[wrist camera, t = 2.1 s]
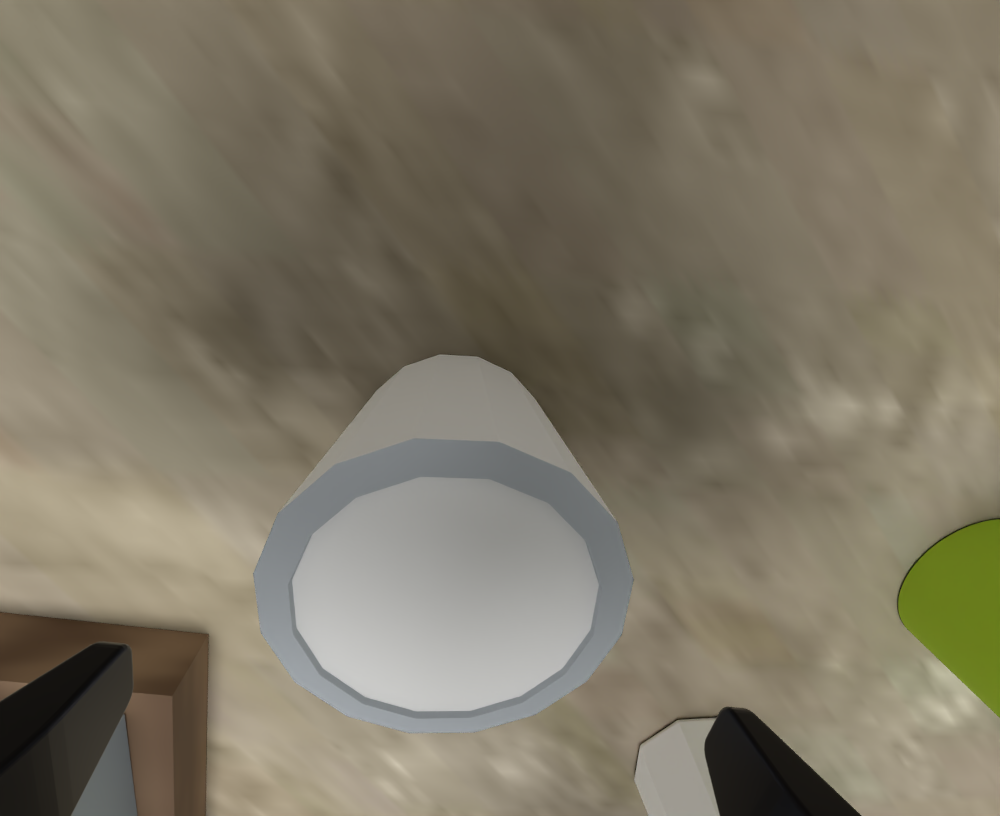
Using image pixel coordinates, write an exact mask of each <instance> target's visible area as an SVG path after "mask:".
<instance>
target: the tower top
mask: <svg viewBox="0 0 1000 816" xmlns="http://www.w3.org/2000/svg"><path fill="white" fill-rule="evenodd" d="M71 816H137V808H136V800H135V793H134V785H133V777H132V769H131V761H130V753H129V746H128V738H127V730H126V722H125V715H123V716H122V718H121V720H120V722H119V724H118V725H117V727H116V729H115V731H114V733H113V735H112V737H111V739H110V741H109V743H108V745H107V747H106V749H105V751H104V753H103V755H102V757H101V759H100V761H99V763H98V764H97V766H96V768H95V770H94V772H93V774H92V776H91V778H90V780H89V782H88V784H87V786H86V788H85V790H84V792H83V794H82V796H81V798H80V800H79V801H78V803H77V805H76V807H75V809H74V811H73V813H72V815H71Z"/></svg>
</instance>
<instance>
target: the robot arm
mask: <svg viewBox="0 0 1000 816" xmlns="http://www.w3.org/2000/svg"><path fill="white" fill-rule="evenodd" d="M133 686H134V682H133V661H132V649H131V647H130V646H129V645H128V644H124V643H114V642H105V641H101V642H96V643H93V644H91V645H89V646H88V647H86V648H84V649H83V650H81V651H80V652H78V653H76V654H75V655H73V656H71V657H70V658H68V659H67V660H65V661H63V662H62V663H60V664H59V665H57V666H55V667H54V668H52V669H51V670H49V671H47V672H46V673H44V674H43V675H41V676H39V677H38V678H36V679H35V680H33V681H31V682H30V683H28V684H27V685H25V686H23V687H22V688H20V689H19V690H17V691H15V692H14V693H12V694H11V695H9V696H7V697H6V698H4V699H2V700H1V701H0V816H71V815H72V813H73V811H74V809H75V807H76V805H77V803H78V801H79V800H80V798H81V796H82V794H83V792H84V790H85V788H86V786H87V784H88V782H89V780H90V778H91V776H92V774H93V772H94V770H95V768H96V766H97V764H98V763H99V761H100V759H101V757H102V755H103V753H104V751H105V749H106V747H107V745H108V743H109V741H110V739H111V737H112V735H113V733H114V731H115V729H116V727H117V725H118V724H119V722H120V720H121V718H122V716H123V714H124V712H125V710H126V708H127V706H128V704H129V701H130V699H131V696H132V692H133ZM704 752H705V759H706V763H707V767H708V771H709V775H710V779H711V783H712V787H713V791H714V795H715V799H716V803H717V807H718V811H719V815H720V816H861V815H860V814H859V813H858V812H857V811H856V810H855V809H854V808H853V807H852V806H851V805H850V804H849V803H848V802H847V801H846V800H844V799H843V798H842V797H841V796H840V795H839V794H838V793H837V792H836V791H835V790H834V789H833V788H832V787H831V786H830V785H829V784H828V783H827V782H826V781H824V780H823V779H822V778H821V777H820V776H819V775H818V774H817V773H816V772H815V771H814V770H813V769H812V768H811V767H810V766H809V765H808V764H807V763H806V762H804V761H803V760H802V759H801V758H800V757H799V756H798V755H797V754H796V753H795V752H794V751H793V750H792V749H791V748H790V747H789V746H788V745H787V744H786V743H784V742H783V741H782V740H781V739H780V738H779V737H778V736H777V735H776V734H775V733H774V732H773V731H772V730H771V729H770V728H769V727H768V726H767V725H766V724H765V723H763V722H762V721H761V720H760V719H759V718H758V717H757V716H756V715H755V714H754V713H753V712H751V711H750V710H747V709H744V708H735V707H725V708H723V709H722V710H721V711H720V712H719V714H718V716H717V718H716V720H715V722H714V724H713V725H712V727H711V729H710V731H709V733H708V735H707V737H706V739H705V744H704Z"/></svg>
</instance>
